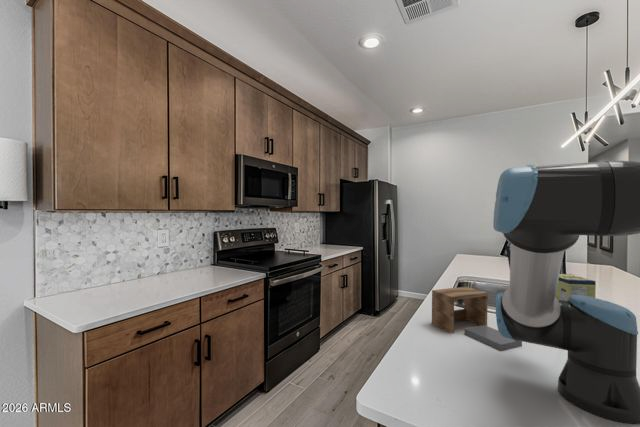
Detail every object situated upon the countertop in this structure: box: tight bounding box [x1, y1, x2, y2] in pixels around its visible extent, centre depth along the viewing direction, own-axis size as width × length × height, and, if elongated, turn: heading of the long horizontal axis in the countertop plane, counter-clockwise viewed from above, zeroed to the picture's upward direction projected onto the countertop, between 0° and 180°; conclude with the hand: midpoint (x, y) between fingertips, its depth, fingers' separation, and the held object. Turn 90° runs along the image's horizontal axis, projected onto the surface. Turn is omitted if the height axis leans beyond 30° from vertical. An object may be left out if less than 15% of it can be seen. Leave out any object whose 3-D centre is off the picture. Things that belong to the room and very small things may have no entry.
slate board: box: [463, 325, 523, 352], centre depth 102 cm, size 14×10×2 cm
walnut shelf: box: [431, 286, 489, 334], centre depth 115 cm, size 10×18×13 cm, turn 112°
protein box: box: [555, 273, 597, 301], centre depth 135 cm, size 10×16×16 cm
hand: (526, 301), depth 92 cm, fingers closed
